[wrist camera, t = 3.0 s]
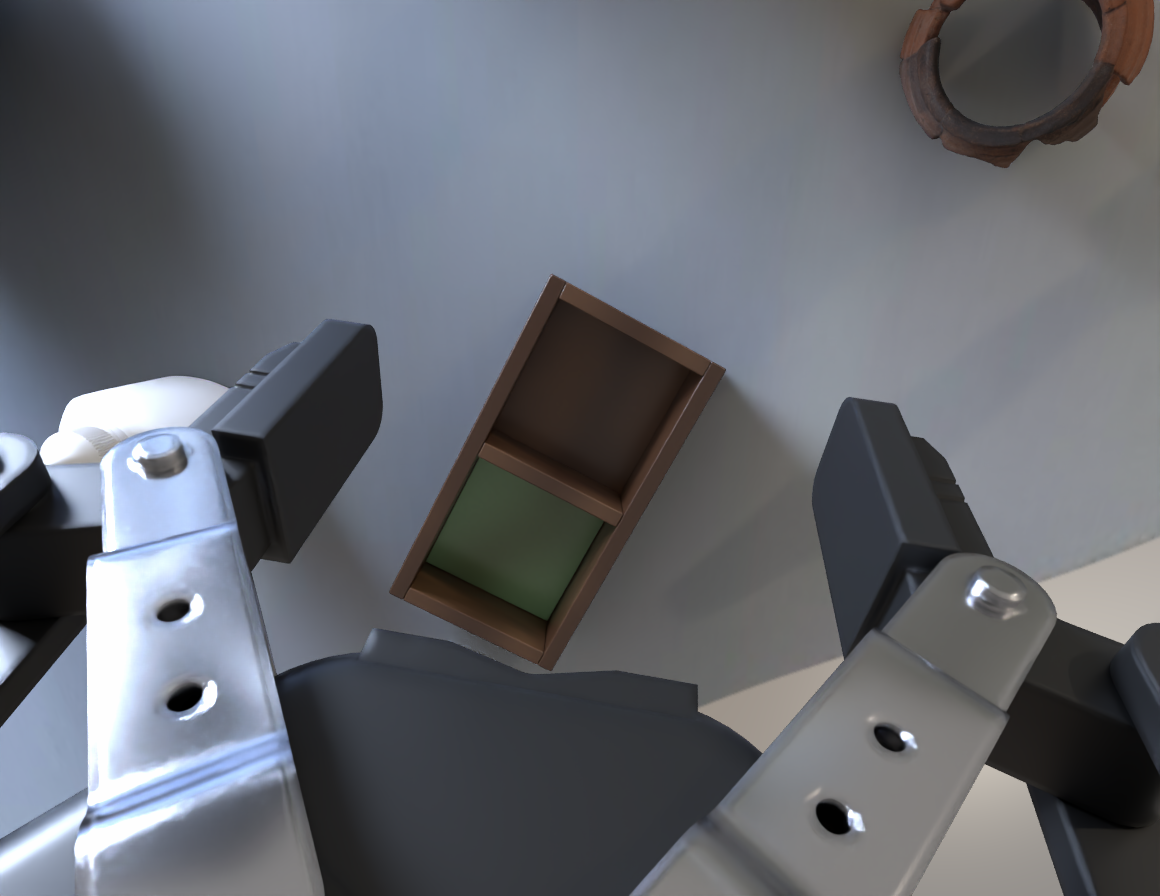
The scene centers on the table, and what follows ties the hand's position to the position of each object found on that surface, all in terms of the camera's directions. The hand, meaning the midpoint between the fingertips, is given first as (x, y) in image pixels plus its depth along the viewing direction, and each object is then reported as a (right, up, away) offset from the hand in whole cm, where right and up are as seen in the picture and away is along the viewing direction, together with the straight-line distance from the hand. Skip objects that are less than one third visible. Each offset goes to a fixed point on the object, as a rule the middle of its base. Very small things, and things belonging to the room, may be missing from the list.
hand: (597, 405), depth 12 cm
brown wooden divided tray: (-2, -2, +25) cm, 25 cm away
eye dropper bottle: (-19, +1, +25) cm, 32 cm away
